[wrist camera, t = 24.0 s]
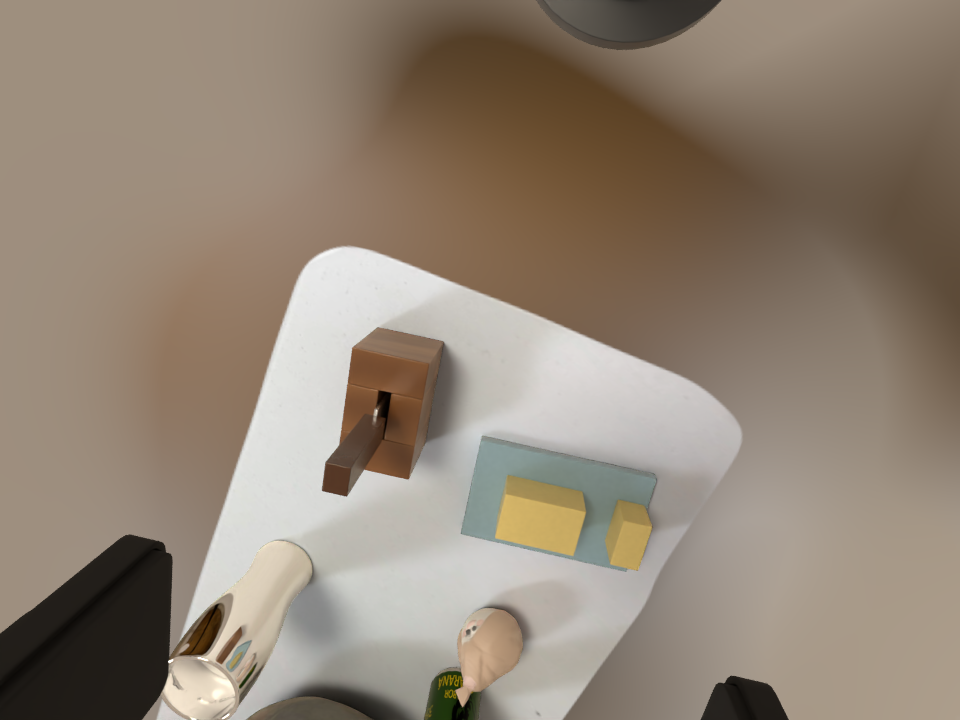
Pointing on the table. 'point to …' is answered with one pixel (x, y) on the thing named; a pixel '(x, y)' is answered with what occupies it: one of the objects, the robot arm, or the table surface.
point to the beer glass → (235, 636)
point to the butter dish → (557, 469)
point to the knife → (356, 450)
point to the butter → (540, 515)
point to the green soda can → (450, 698)
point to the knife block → (393, 394)
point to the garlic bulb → (487, 649)
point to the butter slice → (628, 535)
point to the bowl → (308, 710)
